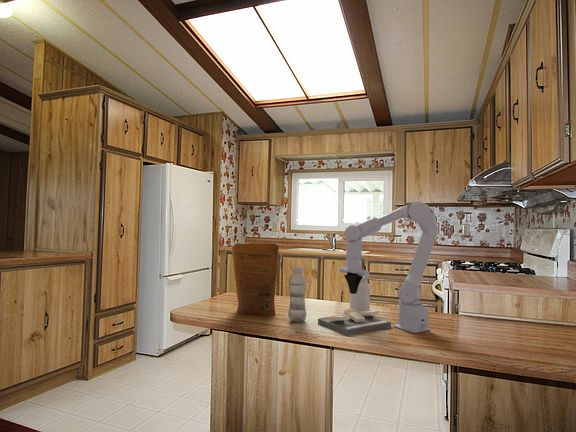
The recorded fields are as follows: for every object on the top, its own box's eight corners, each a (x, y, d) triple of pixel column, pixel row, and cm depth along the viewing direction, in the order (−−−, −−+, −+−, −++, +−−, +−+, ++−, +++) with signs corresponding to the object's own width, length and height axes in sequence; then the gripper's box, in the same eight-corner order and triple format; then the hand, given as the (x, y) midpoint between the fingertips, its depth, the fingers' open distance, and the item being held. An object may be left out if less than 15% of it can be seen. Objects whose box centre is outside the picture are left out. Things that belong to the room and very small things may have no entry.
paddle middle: (364, 321, 130) (364, 317, 130) (356, 322, 128) (357, 319, 128) (351, 311, 136) (351, 308, 136) (343, 313, 134) (344, 309, 134)
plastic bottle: (304, 324, 132) (305, 268, 132) (286, 323, 133) (287, 267, 134) (307, 320, 138) (308, 266, 139) (289, 318, 140) (290, 265, 140)
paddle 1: (349, 319, 126) (349, 315, 127) (341, 320, 124) (341, 316, 125) (336, 319, 132) (336, 315, 132) (328, 320, 130) (328, 316, 130)
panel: (390, 327, 131) (390, 319, 131) (347, 335, 120) (347, 327, 120) (359, 317, 144) (359, 310, 144) (317, 323, 133) (318, 316, 133)
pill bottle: (371, 315, 147) (372, 277, 147) (351, 315, 147) (351, 277, 147) (367, 310, 155) (368, 274, 155) (348, 310, 155) (348, 274, 155)
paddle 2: (379, 314, 134) (378, 310, 134) (371, 315, 132) (371, 311, 132) (365, 314, 139) (365, 310, 140) (358, 315, 138) (357, 311, 138)
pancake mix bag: (275, 317, 141) (276, 244, 141) (229, 313, 146) (230, 242, 147) (280, 313, 147) (281, 243, 148) (236, 309, 153) (237, 241, 153)
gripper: (333, 256, 144) (332, 291, 144) (359, 259, 132) (358, 297, 132) (347, 255, 148) (346, 289, 148) (373, 258, 136) (373, 296, 135)
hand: (353, 293), depth 140 cm, fingers closed
